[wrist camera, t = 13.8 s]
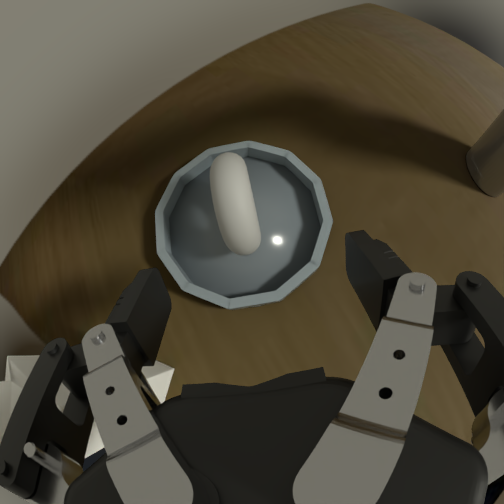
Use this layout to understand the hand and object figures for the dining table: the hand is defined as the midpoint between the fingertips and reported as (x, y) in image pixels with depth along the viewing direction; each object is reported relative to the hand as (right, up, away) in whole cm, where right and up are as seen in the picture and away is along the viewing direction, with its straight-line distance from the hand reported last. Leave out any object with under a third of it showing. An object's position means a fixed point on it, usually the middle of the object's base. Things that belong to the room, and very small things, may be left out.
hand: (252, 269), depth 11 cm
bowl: (-1, +4, +21) cm, 21 cm away
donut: (-1, +4, +20) cm, 20 cm away
